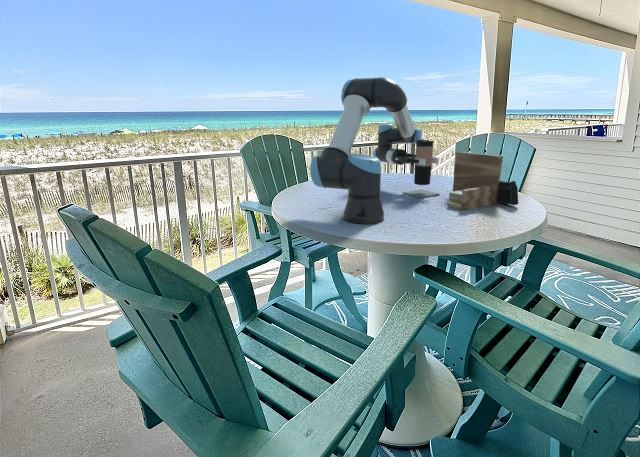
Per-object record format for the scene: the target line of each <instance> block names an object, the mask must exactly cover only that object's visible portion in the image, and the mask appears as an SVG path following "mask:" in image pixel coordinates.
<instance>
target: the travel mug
mask: <svg viewBox="0 0 640 457" xmlns="http://www.w3.org/2000/svg"><path fill="white" fill-rule="evenodd" d="M415 145H416V146H415V154H416V156H415V158H421V159H426V165H419V164H414V176H413V177H414V184H415V185H418V186H429V185H430V184H431V176H432V175H431V174H432V167H433V163H432V157H433V155H434V154H433V153H434V140H429V139H421V140H417V142H416V143H415Z"/></svg>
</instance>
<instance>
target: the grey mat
mask: <svg viewBox="0 0 640 457" xmlns="http://www.w3.org/2000/svg"><path fill="white" fill-rule="evenodd" d="M402 194H403V195H406V196H411V197H415V198H419V199H424V198H430V197H436V196H440V195H441V193H437V192H433V191H429V190H424V189H415V190H411V191H410V190H409V191H403V192H402Z"/></svg>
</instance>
